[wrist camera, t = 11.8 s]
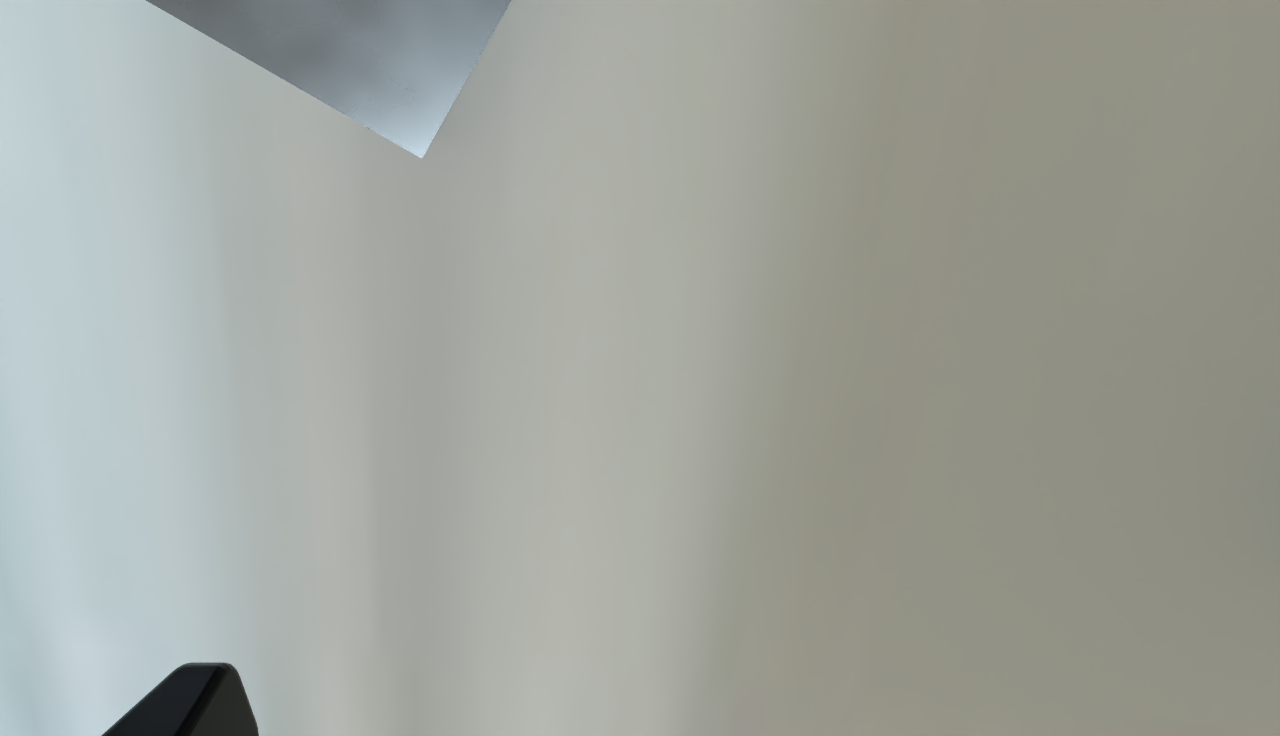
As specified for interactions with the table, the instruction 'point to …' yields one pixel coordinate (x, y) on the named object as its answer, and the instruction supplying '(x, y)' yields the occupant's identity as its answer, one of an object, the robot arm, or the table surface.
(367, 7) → the grey piece
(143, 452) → the table surface
